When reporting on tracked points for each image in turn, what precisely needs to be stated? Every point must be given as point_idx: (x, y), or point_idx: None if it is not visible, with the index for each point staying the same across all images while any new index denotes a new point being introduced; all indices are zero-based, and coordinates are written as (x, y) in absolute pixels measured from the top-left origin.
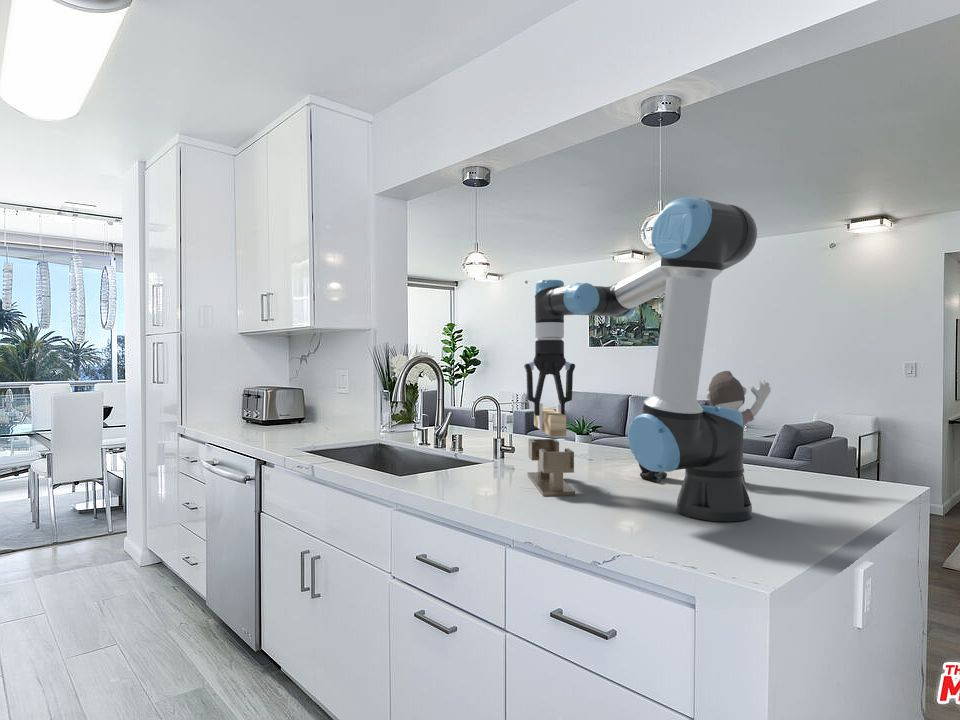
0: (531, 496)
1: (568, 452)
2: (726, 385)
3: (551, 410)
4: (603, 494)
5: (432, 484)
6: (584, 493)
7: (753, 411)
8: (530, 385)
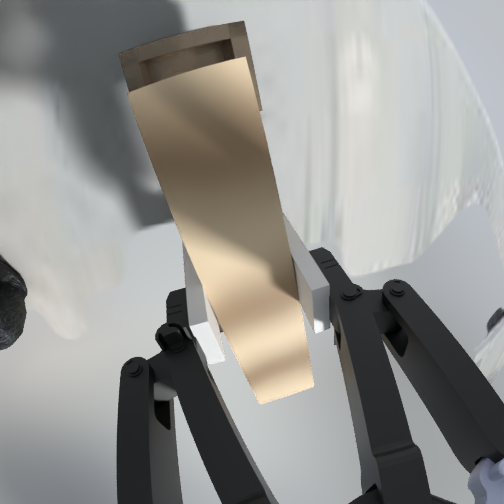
0: (252, 26)
1: (140, 46)
2: None
3: (244, 337)
4: (68, 90)
5: (445, 141)
6: (113, 86)
7: None
8: (450, 354)
